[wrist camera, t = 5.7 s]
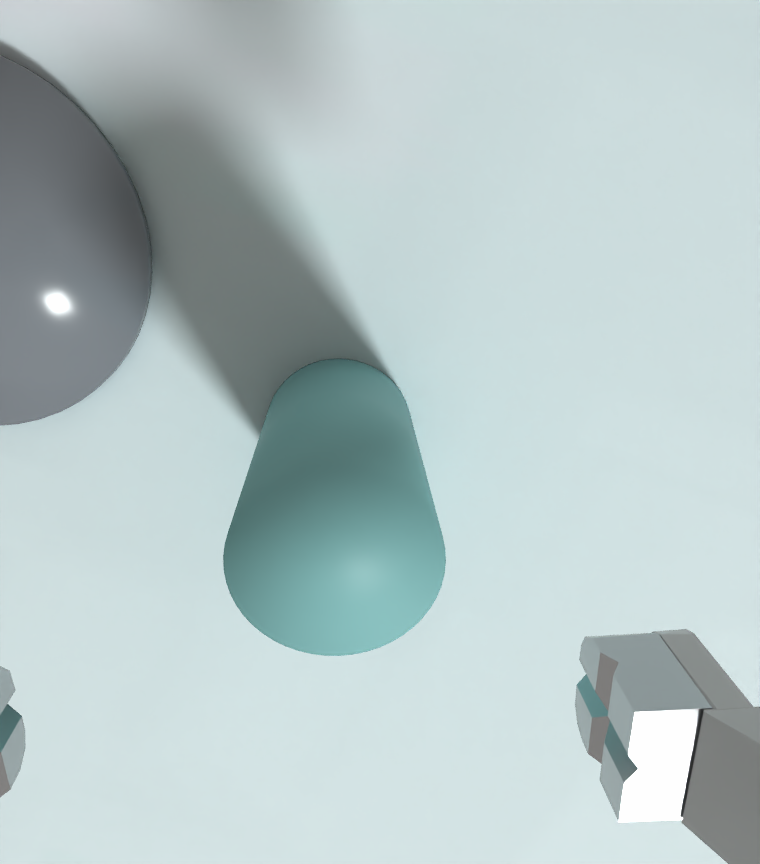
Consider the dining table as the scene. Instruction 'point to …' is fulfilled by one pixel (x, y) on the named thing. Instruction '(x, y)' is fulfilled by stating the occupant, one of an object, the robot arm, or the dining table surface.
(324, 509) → the marker peg
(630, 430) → the dining table surface
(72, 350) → the grey flat disc
